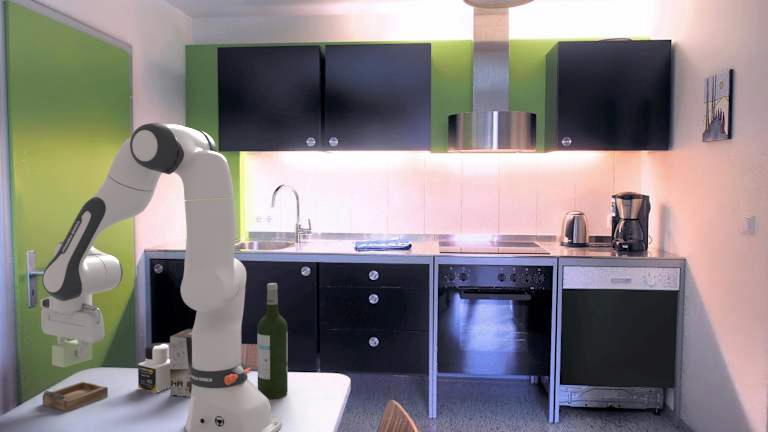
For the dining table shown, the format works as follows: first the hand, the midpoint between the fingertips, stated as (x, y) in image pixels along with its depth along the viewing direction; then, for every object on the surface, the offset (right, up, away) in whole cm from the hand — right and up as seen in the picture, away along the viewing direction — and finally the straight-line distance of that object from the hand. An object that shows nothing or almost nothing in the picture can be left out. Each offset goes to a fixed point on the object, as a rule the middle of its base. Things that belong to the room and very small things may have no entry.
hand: (72, 354), depth 142 cm
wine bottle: (+51, -12, +6) cm, 53 cm away
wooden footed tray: (+1, -12, 0) cm, 12 cm away
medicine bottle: (+18, -12, +10) cm, 24 cm away
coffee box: (+28, -12, +8) cm, 31 cm away
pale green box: (0, -2, 0) cm, 2 cm away
